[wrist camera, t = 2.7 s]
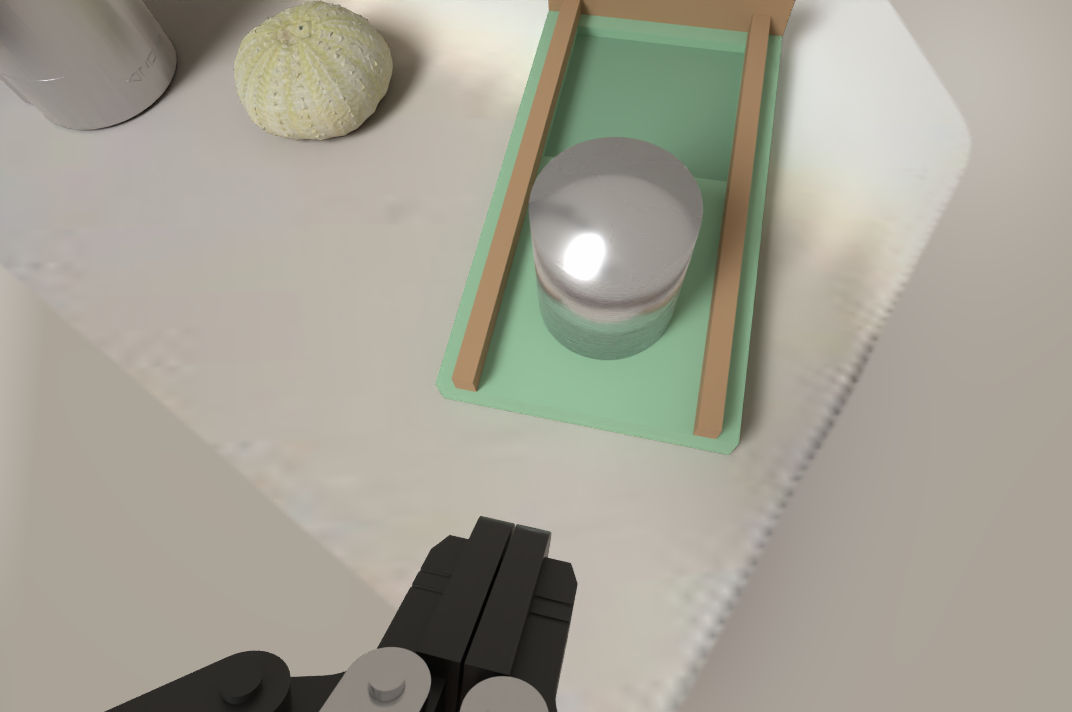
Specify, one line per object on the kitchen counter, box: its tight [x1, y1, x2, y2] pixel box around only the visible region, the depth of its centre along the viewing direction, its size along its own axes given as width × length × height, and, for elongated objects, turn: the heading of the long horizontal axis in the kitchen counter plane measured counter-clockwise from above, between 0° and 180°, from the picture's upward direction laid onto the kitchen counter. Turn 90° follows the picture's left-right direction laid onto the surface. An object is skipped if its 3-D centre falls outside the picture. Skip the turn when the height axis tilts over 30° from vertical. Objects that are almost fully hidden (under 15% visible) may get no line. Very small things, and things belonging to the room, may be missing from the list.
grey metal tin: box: [529, 137, 703, 360], centre depth 28 cm, size 7×7×8 cm
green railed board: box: [436, 0, 795, 455], centre depth 33 cm, size 14×26×4 cm, turn 167°
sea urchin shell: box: [234, 0, 393, 140], centre depth 38 cm, size 9×8×8 cm
